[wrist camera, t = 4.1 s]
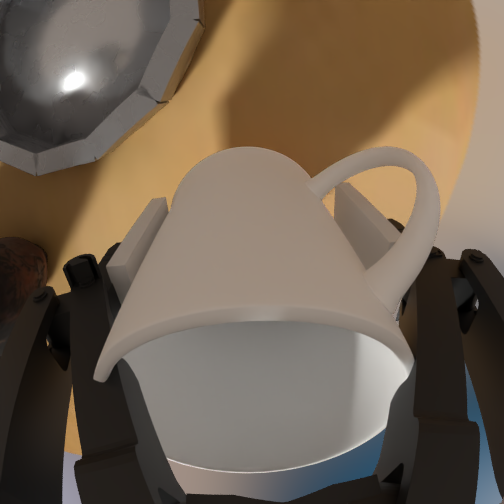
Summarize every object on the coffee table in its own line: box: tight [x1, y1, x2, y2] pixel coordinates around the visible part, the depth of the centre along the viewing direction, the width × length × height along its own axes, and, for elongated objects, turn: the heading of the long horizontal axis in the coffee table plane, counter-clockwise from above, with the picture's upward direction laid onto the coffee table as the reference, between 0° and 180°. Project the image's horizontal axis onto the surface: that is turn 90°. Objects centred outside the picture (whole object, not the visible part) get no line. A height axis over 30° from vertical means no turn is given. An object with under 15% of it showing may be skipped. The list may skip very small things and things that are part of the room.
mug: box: [93, 146, 440, 473], centre depth 11 cm, size 12×8×12 cm
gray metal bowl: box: [0, 0, 206, 176], centre depth 12 cm, size 19×19×3 cm
